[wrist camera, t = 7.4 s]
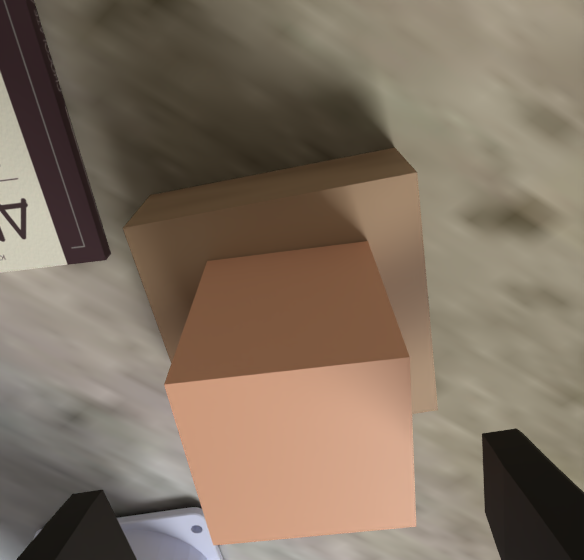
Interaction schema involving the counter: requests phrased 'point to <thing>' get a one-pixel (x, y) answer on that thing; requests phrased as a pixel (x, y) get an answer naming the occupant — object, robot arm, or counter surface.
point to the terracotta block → (295, 397)
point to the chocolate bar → (39, 157)
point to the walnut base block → (292, 239)
